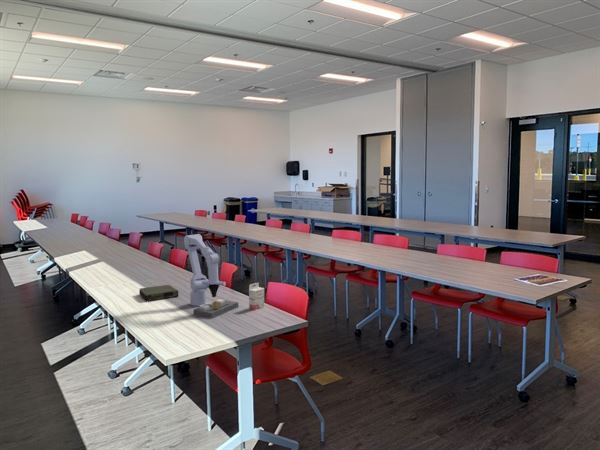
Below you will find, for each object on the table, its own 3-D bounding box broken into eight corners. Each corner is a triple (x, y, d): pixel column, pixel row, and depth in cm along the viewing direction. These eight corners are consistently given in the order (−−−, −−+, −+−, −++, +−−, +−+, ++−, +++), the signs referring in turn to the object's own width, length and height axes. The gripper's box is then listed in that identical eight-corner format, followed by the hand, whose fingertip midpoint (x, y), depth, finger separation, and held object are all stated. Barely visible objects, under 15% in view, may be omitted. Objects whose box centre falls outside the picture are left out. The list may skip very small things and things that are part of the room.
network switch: (147, 303, 287) (147, 295, 286) (135, 296, 305) (134, 289, 304) (182, 296, 301) (182, 289, 301) (168, 290, 319) (167, 283, 319)
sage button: (207, 307, 267) (207, 303, 267) (212, 305, 270) (212, 301, 270) (212, 308, 265) (212, 304, 265) (217, 306, 268) (217, 302, 268)
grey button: (199, 310, 261) (199, 306, 261) (204, 308, 264) (204, 304, 264) (204, 311, 259) (204, 307, 259) (209, 309, 262) (209, 305, 262)
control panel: (193, 314, 259) (193, 309, 259) (220, 304, 280) (220, 299, 280) (212, 318, 253) (212, 312, 252) (238, 307, 273) (238, 302, 273)
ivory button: (215, 304, 273) (215, 300, 273) (219, 302, 276) (219, 299, 276) (220, 305, 271) (220, 301, 271) (224, 303, 274) (224, 299, 274)
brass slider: (212, 308, 259) (212, 302, 259) (215, 307, 262) (215, 301, 261) (216, 309, 258) (216, 303, 257) (219, 307, 260) (219, 301, 260)
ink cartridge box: (254, 310, 266) (254, 285, 265) (249, 308, 270) (248, 284, 268) (265, 306, 273) (264, 283, 271) (259, 305, 276) (258, 282, 275)
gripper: (199, 275, 263) (199, 297, 265) (221, 276, 259) (222, 299, 261) (204, 272, 270) (205, 294, 272) (226, 273, 266) (227, 296, 267)
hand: (214, 296), depth 267 cm, fingers closed
